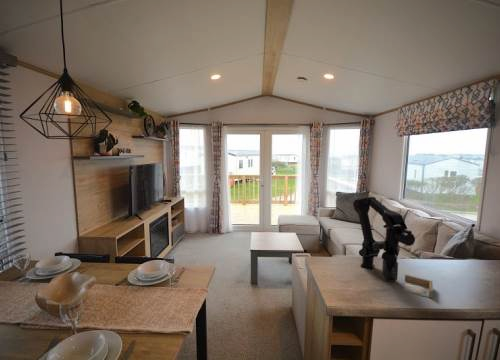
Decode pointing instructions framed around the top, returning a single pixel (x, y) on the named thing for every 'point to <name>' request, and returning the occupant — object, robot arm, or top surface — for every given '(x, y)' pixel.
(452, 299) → the top surface
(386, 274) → the supplement bottle
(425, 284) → the corner arena
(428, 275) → the top surface
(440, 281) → the top surface
